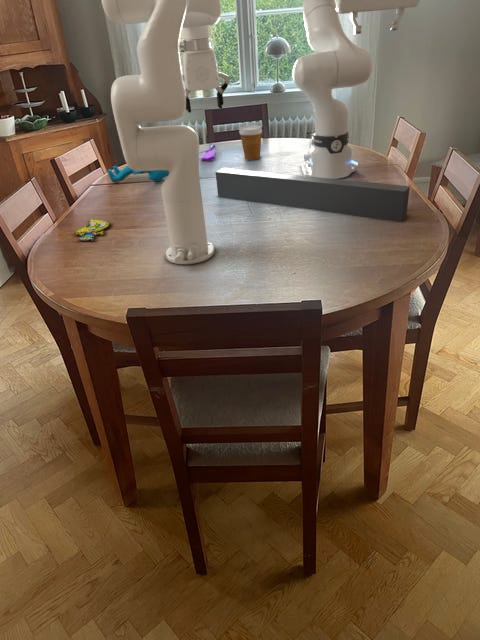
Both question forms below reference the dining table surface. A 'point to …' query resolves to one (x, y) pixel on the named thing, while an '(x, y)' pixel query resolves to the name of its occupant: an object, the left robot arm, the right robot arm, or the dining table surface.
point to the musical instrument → (209, 154)
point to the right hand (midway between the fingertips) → (375, 32)
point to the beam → (315, 193)
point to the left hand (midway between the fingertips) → (204, 109)
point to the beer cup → (251, 141)
